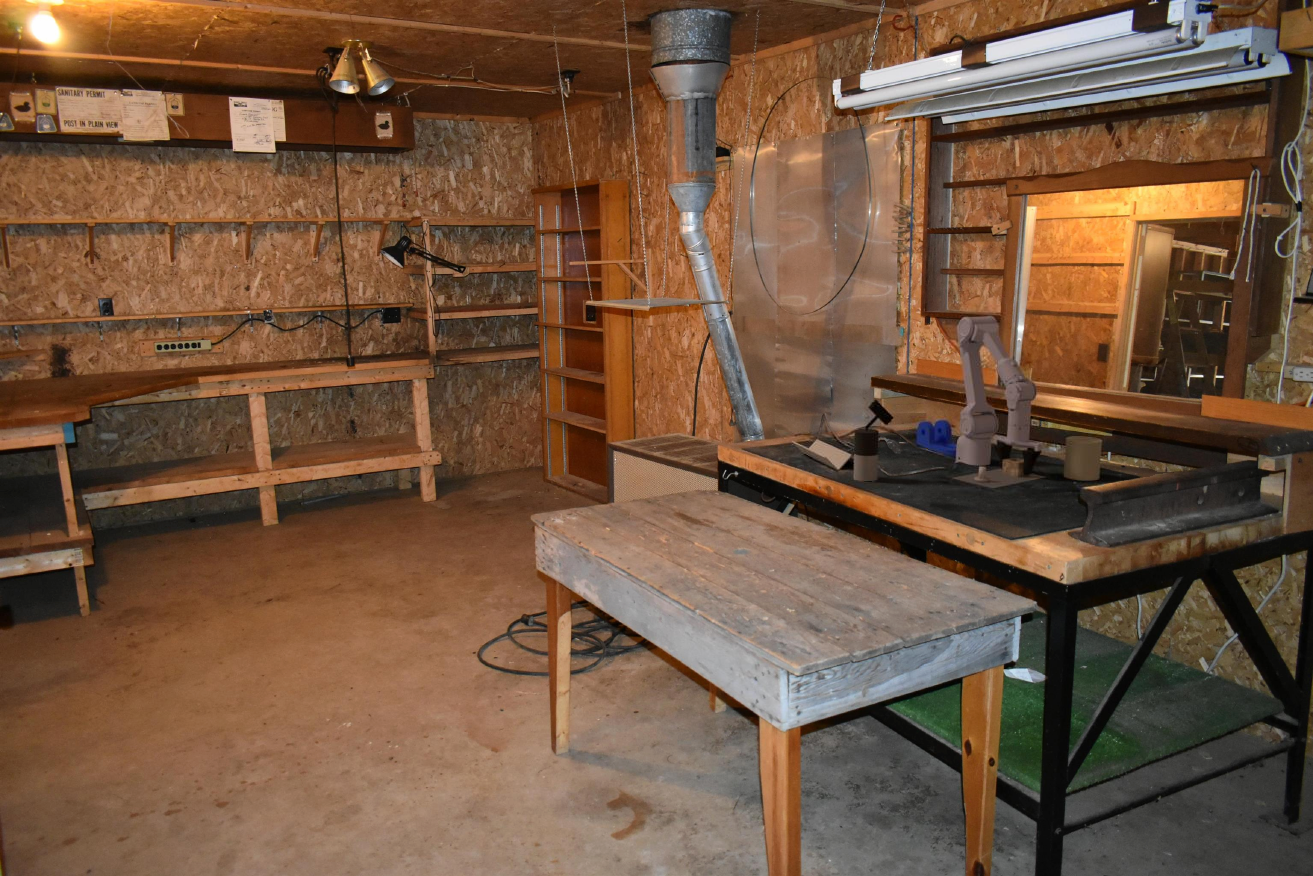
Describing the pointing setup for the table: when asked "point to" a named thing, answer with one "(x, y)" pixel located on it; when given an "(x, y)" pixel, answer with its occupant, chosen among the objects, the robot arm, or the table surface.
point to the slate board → (994, 478)
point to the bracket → (936, 437)
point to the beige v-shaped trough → (826, 454)
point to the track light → (869, 445)
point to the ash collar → (1013, 467)
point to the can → (1082, 458)
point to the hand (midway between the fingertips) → (1016, 472)
